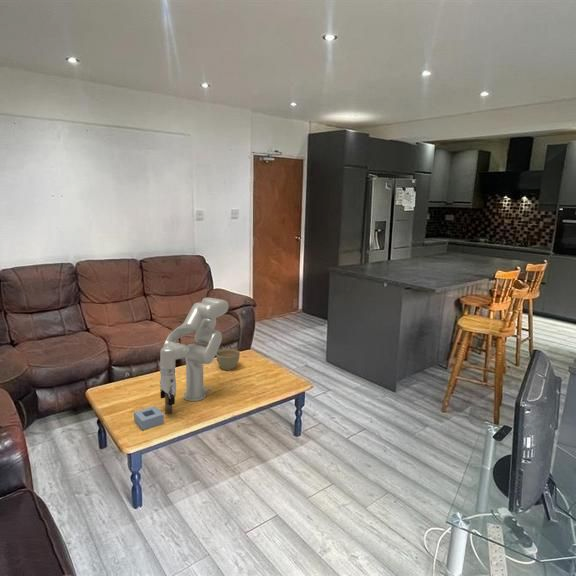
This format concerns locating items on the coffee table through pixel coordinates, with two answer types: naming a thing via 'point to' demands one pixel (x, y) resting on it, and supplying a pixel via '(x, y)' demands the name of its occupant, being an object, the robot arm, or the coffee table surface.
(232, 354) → the planter bowl
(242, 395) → the coffee table surface
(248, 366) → the coffee table surface
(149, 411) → the socket block
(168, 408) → the peg
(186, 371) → the robot arm
